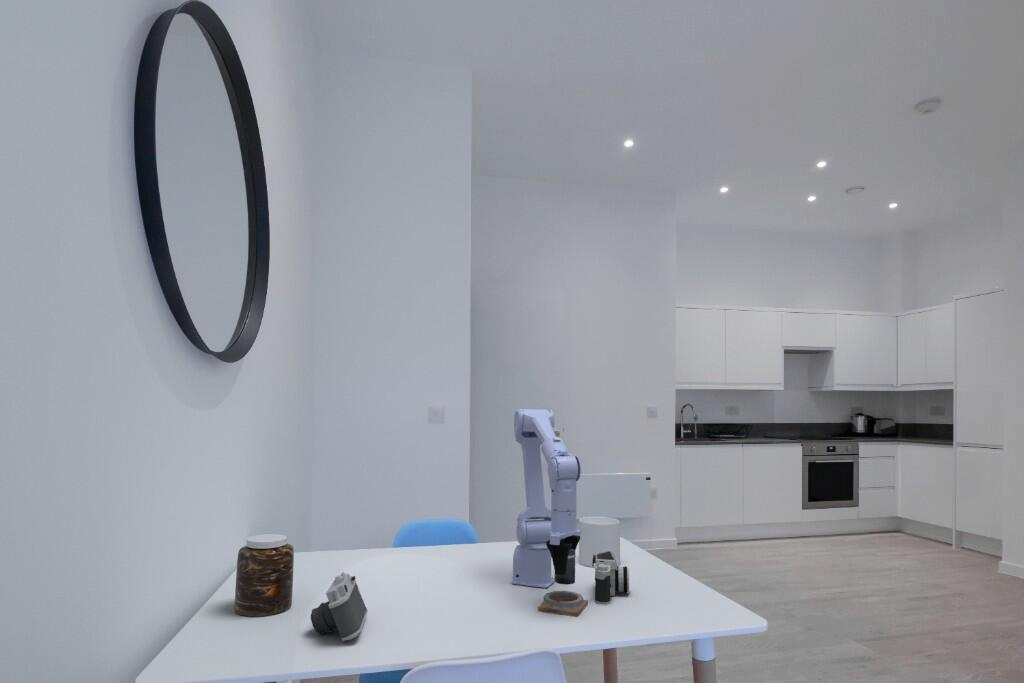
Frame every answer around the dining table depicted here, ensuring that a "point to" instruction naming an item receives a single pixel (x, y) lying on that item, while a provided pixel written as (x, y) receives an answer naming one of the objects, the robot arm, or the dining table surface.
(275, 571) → the jar
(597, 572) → the camera
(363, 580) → the dining table surface
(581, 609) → the mount
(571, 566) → the lens
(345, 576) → the camera
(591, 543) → the cup
